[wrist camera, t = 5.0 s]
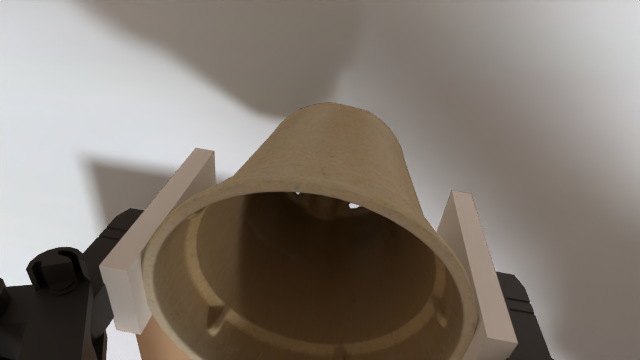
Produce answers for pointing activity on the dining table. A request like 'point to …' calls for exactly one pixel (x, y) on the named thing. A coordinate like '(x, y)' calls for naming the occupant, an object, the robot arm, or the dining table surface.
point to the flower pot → (311, 255)
